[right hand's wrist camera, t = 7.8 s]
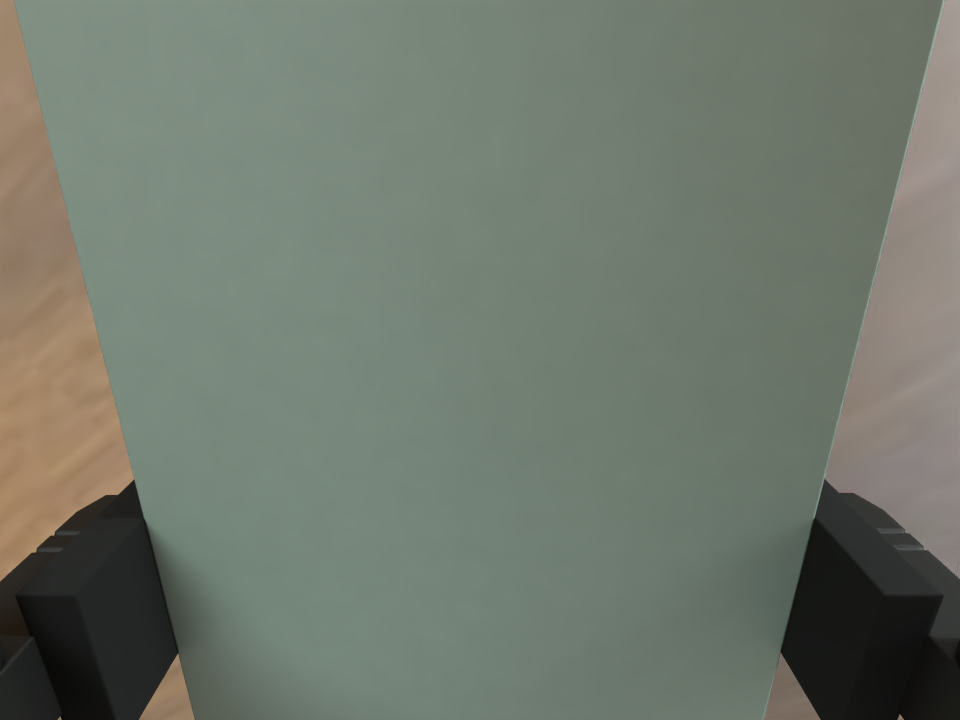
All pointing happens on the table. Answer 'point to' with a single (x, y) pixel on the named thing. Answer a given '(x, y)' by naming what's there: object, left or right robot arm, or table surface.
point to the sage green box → (479, 330)
